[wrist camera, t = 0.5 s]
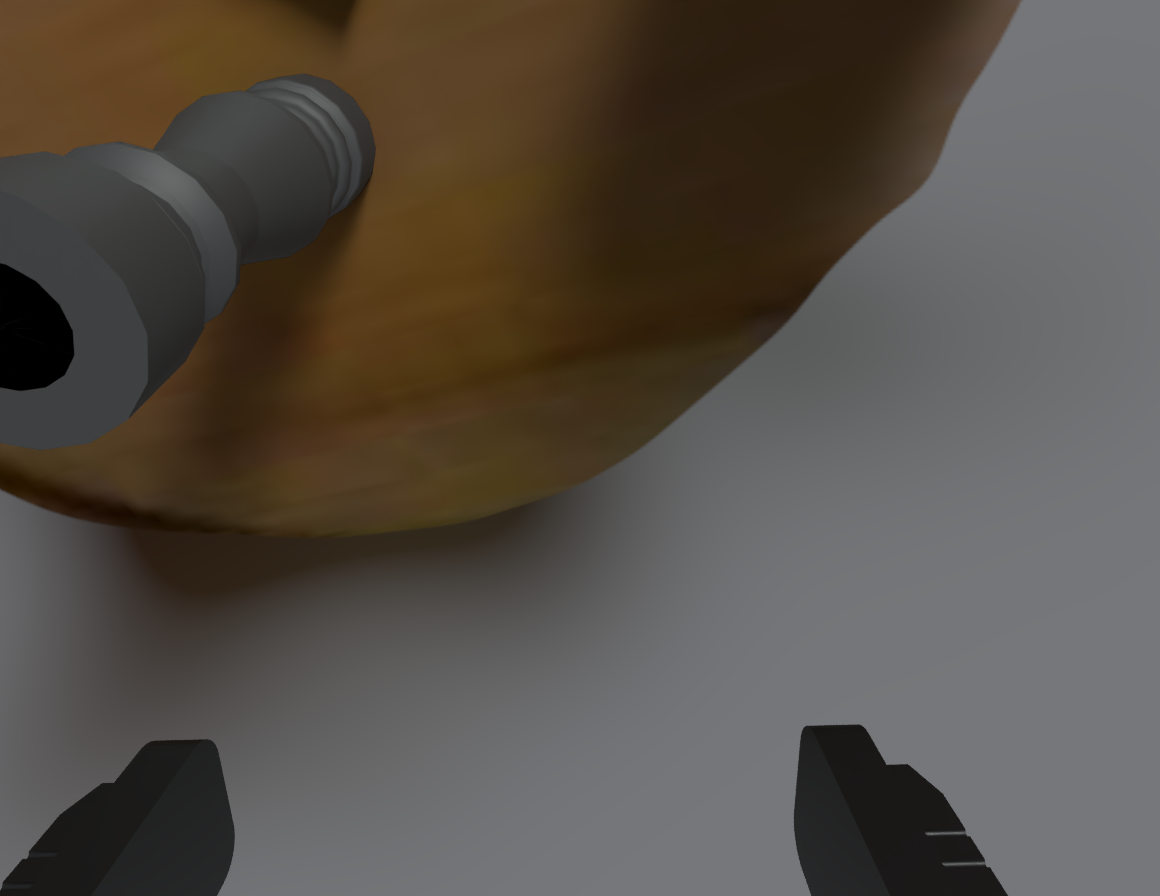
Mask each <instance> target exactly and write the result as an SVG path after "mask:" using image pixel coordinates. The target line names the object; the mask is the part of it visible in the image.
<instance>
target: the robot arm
mask: <svg viewBox="0 0 1160 896" xmlns="http://www.w3.org/2000/svg"><path fill="white" fill-rule="evenodd" d="M794 831H795V840H796V846H797V851H798V856H799V860H800V864H801V867H802V870H803V873H804V876H805V879H806V882H807V884H808V887H809V890H810V893H811V896H1008V895H1007V894H1006V892H1005V891H1004V889H1003V887H1002V886H1001V884H1000V882H999V881H998V879H997V878H996V876H995V875H994V873H993V872H992V870H991V868H990V867H986V865H985V859H984V857H983V856H982V854H981V853H980V851H979V850H978V848H977V847H976V845H975V844H974V842H973V840H972V839H971V837H969V836H967V835H966V832H965V828H964V827H963V825H962V823H961V822H960V820H959V818H958V817H957V815H956V814H955V812H954V811H953V809H952V808H951V806H950V804H949V803H948V801H947V800H946V798H945V797H944V795H943V794H942V793H941V792H940V791H939V790H938V789H937V788H935V787H934V786H933V785H932V784H931V783H929V782H928V781H927V780H926V779H925V778H923V777H922V776H921V775H920V774H919V773H918V772H916V771H915V770H914V769H913V768H912V767H911V766H909V765H908V764H900V765H886V763H885V761H884V760H883V758H882V756H881V754H880V753H879V751H878V749H877V747H876V746H875V744H874V742H873V740H872V739H871V737H870V735H869V733H868V732H867V730H866V729H865V728H864V727H863V726H861V725H824V726H822V725H821V726H805V727H804V728H803V730H802V734H801V740H800V751H799V762H798V774H797V785H796V796H795V809H794ZM234 838H235V834H234V825H233V820H232V815H231V811H230V805H229V801H228V796H227V791H226V786H225V782H224V777H223V772H222V767H221V762H220V758H219V753H218V749H217V747H216V745H215V744H214V743H213V741H211V740H208V739H207V740H206V739H205V740H166V741H151V742H149V743H147V744H146V745H145V746H144V747H143V748H142V749H141V750H140V751H139V752H138V754H137V755H136V756H135V757H134V759H133V760H132V761H131V762H130V764H129V765H128V766H127V767H126V768H125V770H124V771H123V772H122V773H121V775H120V776H119V777H118V778H117V780H116V781H115V782H114V783H102V784H100V786H98V787H96V788H95V789H94V790H92V791H91V792H90V793H88V794H87V795H86V796H85V797H83V798H82V799H80V800H79V801H78V802H76V803H75V804H74V805H72V806H71V807H70V808H68V809H67V810H66V811H64V812H63V813H62V814H60V815H59V817H58V818H57V819H56V820H55V821H54V823H53V824H52V825H51V826H50V827H49V829H48V830H47V831H46V832H45V833H44V834H43V835H42V837H41V838H40V839H39V840H38V842H37V843H36V844H35V845H34V846H33V847H32V848H31V850H30V851H29V856H28V858H27V859H22V860H21V862H20V863H19V864H18V865H17V866H16V867H15V869H14V870H13V871H12V872H11V873H10V874H9V876H8V877H7V878H6V879H5V880H4V882H3V886H2V889H1V890H0V896H217V895H218V892H219V891H220V889H221V887H222V885H223V883H224V881H225V879H226V877H227V874H228V871H229V868H230V865H231V860H232V856H233V851H234V840H235V839H234Z"/></svg>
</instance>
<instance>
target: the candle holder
mask: <svg viewBox="0 0 1160 896" xmlns="http://www.w3.org/2000/svg"><path fill="white" fill-rule="evenodd" d="M375 150H376V147H375V143H374V139H373V135H372V131H371V127H370V123H369V121H368V119H367V118H366V116H365V115H364V113H363V112H362V110H361V109H360V107H359V106H358V104H357V103H356V101H355V100H354V98H352V97H351V96H350V95H348V94H347V93H346V92H344V91H343V90H342V89H340V88H339V87H338V86H336V85H335V84H334V83H333V82H331V81H328V80H325V79H321V78H318V77H314V76H311V75H307V74H299V75H292V76H285V77H278V78H274V79H270V80H266V81H261V82H258V83H256V84H255V85H253V86H252V87H251V88H249V89H248V90H246V91H245V92H244V91H234V92H227V93H220V94H213V95H207V96H203V97H201V98H200V99H198V100H197V101H195V102H194V103H193V104H191V105H190V106H188V107H187V108H186V109H184V110H183V111H181V112H180V113H179V114H177V115H176V117H175V118H174V120H173V121H172V123H171V124H170V126H169V127H168V129H167V130H166V132H165V133H164V135H163V136H162V137H161V139H160V140H159V142H158V143H157V144H156V146H155V147H154V149H153V150H152V149H148V148H144V147H140V146H136V145H132V144H128V143H124V142H113V143H106V144H99V145H92V146H85V147H78V148H75V149H73V150H72V151H70V152H69V153H68V154H66V155H65V156H61V155H57V154H53V153H49V152H38V153H31V154H24V155H17V156H10V157H3V158H0V443H4V444H9V445H15V446H20V447H26V448H31V449H37V450H44V449H51V448H58V447H65V446H72V445H80V444H87V443H91V442H92V441H94V440H96V439H97V438H99V437H100V436H102V435H104V434H105V433H107V432H109V431H110V430H112V429H113V428H115V427H117V426H118V425H120V424H121V423H123V422H125V421H126V420H128V419H129V418H130V417H131V416H132V415H133V414H134V413H135V412H136V411H137V410H138V409H139V408H140V407H141V406H142V405H143V404H144V403H145V402H146V401H147V400H148V399H149V398H150V397H151V396H152V395H153V394H154V393H155V392H156V390H157V389H158V388H159V387H160V386H161V385H162V384H163V383H164V382H165V381H166V380H167V379H168V378H169V377H170V376H171V375H172V374H173V373H174V372H175V371H176V370H177V369H178V368H179V367H180V366H181V365H182V364H183V363H184V362H185V361H186V359H187V358H188V356H189V354H190V352H191V351H192V349H193V347H194V345H195V343H196V342H197V340H198V338H199V336H200V335H201V333H202V331H203V329H204V324H205V323H206V322H208V321H210V320H211V319H213V318H214V317H216V316H217V315H219V314H220V313H221V312H222V311H223V310H224V308H225V306H226V305H227V303H228V301H229V299H230V297H231V296H232V294H233V292H234V290H235V289H236V287H237V285H238V283H239V280H240V265H243V264H248V263H254V262H260V261H266V260H272V259H279V258H285V257H290V256H291V255H293V254H294V253H296V252H297V251H299V250H300V249H302V248H304V247H305V246H307V245H308V244H310V243H311V242H313V241H314V240H315V239H316V238H317V236H318V234H319V233H320V231H321V229H322V228H323V226H324V224H325V223H326V221H327V219H329V218H330V217H332V216H333V215H335V214H337V213H338V212H340V211H341V210H343V209H344V208H346V207H347V206H348V205H349V204H350V203H351V202H352V201H353V200H354V199H355V198H356V197H357V196H358V195H359V194H360V193H361V191H362V189H363V188H364V186H365V184H366V183H367V181H368V179H369V178H370V176H371V175H372V173H373V165H374V158H375Z"/></svg>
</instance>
